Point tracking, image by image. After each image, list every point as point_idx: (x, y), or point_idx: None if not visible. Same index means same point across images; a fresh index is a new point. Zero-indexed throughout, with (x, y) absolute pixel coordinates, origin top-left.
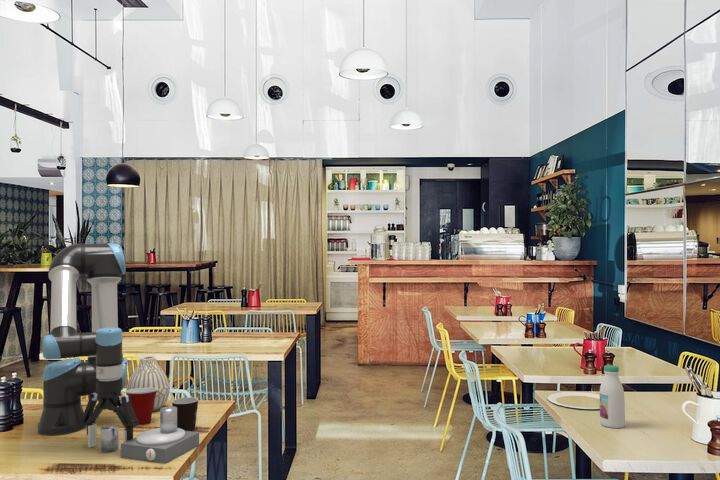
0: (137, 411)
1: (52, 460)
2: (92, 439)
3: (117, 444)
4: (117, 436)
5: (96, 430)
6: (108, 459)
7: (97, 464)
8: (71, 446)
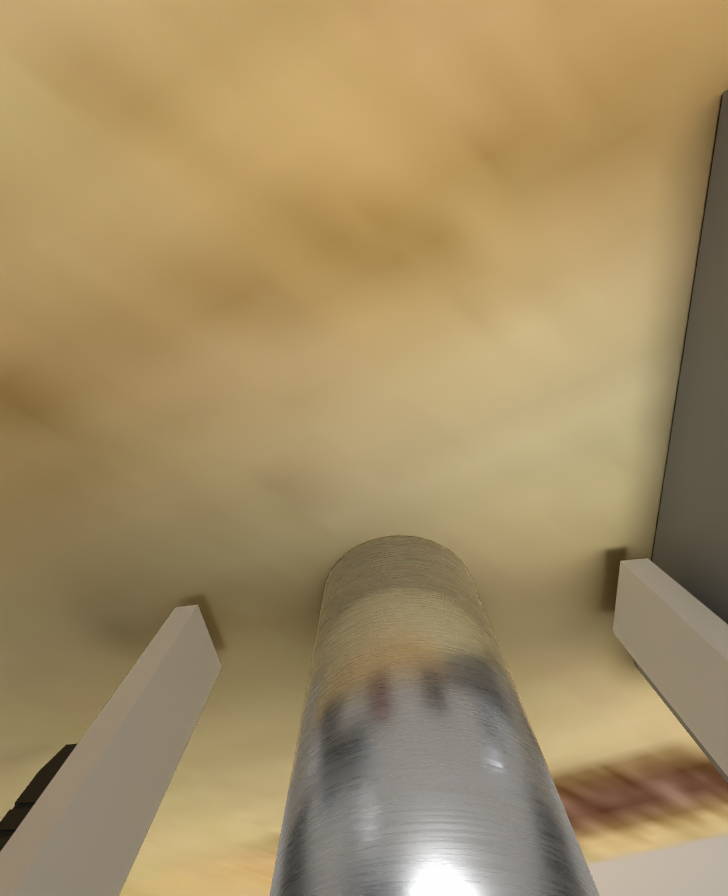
0: None
1: (224, 826)
2: (179, 713)
3: (487, 619)
4: (524, 712)
5: (89, 780)
6: (565, 718)
7: (559, 784)
8: (23, 662)
